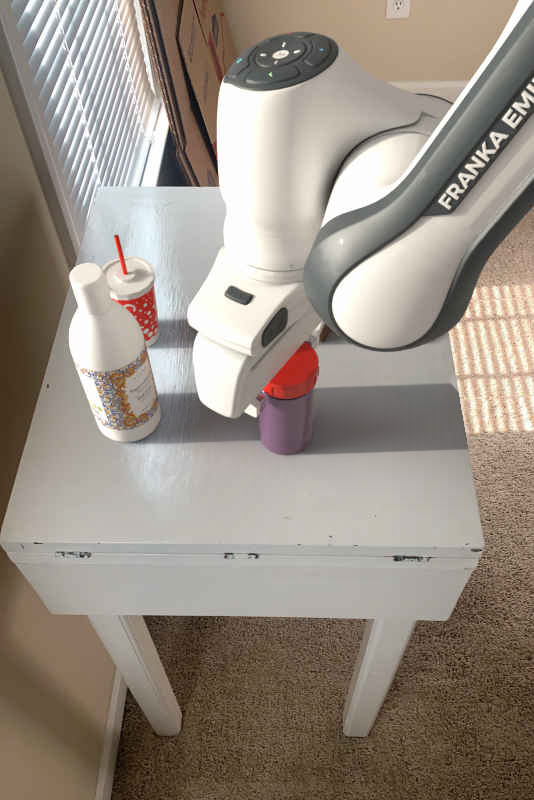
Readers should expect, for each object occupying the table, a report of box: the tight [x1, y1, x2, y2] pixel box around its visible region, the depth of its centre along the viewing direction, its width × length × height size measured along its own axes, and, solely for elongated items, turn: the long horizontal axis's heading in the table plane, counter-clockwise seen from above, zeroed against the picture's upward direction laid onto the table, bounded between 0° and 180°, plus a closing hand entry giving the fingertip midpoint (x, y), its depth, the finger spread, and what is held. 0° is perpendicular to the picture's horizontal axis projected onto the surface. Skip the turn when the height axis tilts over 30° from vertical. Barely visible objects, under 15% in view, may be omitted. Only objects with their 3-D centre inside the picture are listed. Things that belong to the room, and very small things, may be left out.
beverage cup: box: [101, 234, 161, 348], centre depth 75 cm, size 6×6×14 cm
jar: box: [258, 385, 316, 456], centre depth 69 cm, size 6×6×11 cm
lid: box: [262, 342, 320, 399], centre depth 64 cm, size 6×6×2 cm
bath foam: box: [68, 262, 162, 443], centre depth 66 cm, size 7×7×20 cm
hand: (281, 377), depth 66 cm, fingers open, 8 cm apart
